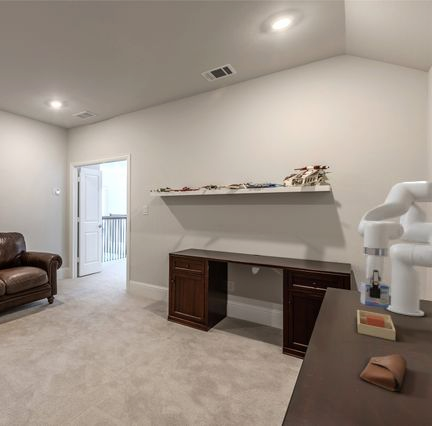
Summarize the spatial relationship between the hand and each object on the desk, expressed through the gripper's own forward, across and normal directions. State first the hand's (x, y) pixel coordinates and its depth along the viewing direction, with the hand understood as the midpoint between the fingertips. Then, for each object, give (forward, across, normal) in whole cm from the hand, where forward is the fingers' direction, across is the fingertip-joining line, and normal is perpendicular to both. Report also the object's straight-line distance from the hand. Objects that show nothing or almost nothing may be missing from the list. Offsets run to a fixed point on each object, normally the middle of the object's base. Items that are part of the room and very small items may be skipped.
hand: (374, 295), depth 122 cm
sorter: (+12, +5, 0) cm, 13 cm away
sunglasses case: (+12, +47, 0) cm, 49 cm away
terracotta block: (+11, +10, 0) cm, 15 cm away
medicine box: (+4, 0, 0) cm, 4 cm away
